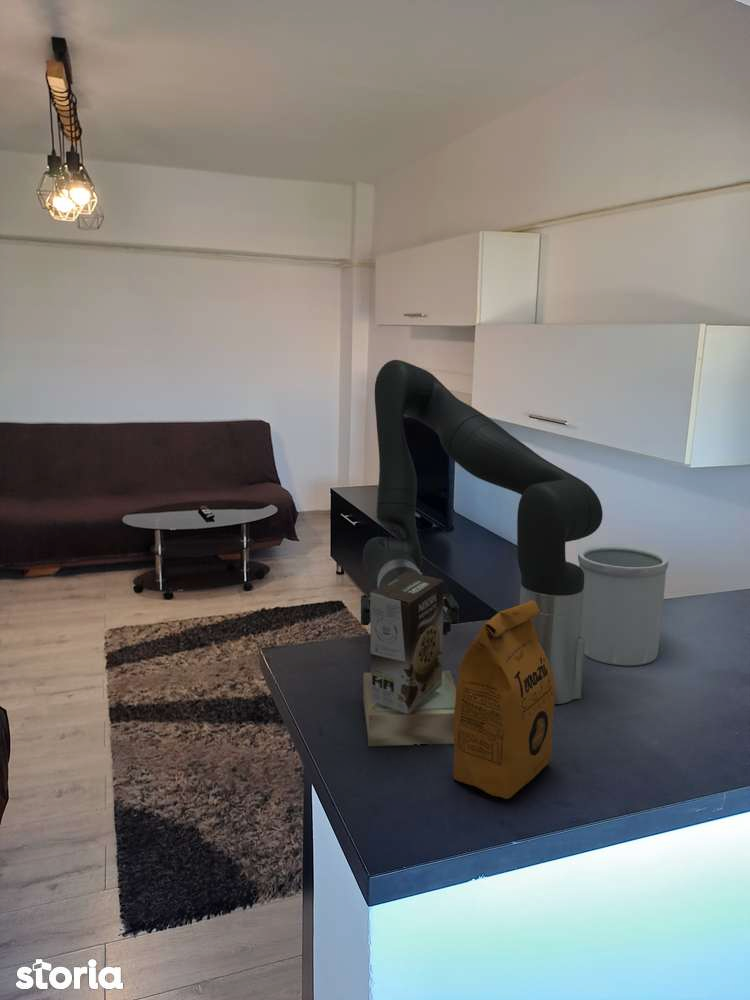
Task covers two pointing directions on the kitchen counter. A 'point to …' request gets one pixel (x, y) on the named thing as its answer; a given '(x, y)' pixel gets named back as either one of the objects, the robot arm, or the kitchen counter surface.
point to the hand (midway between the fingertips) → (414, 629)
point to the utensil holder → (622, 603)
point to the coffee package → (504, 705)
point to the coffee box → (406, 640)
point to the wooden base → (412, 718)
